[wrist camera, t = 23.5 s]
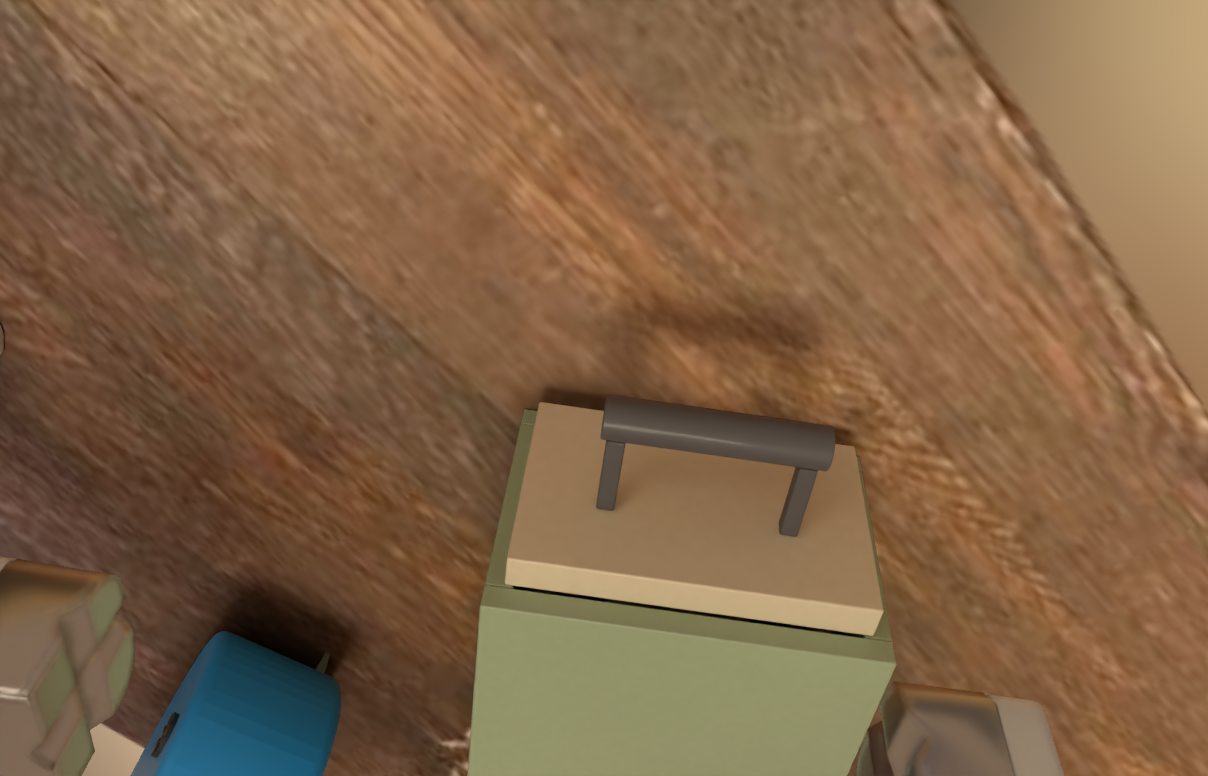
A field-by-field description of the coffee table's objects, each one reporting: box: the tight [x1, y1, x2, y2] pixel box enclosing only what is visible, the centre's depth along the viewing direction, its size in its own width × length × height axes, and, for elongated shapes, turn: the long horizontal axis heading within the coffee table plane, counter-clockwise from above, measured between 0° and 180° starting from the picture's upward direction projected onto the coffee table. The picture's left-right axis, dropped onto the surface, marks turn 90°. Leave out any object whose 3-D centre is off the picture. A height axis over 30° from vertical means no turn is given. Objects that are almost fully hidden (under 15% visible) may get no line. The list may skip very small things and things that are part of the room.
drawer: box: [505, 394, 884, 636], centre depth 39 cm, size 19×12×8 cm, turn 173°
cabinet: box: [468, 409, 896, 776], centre depth 41 cm, size 16×13×10 cm
